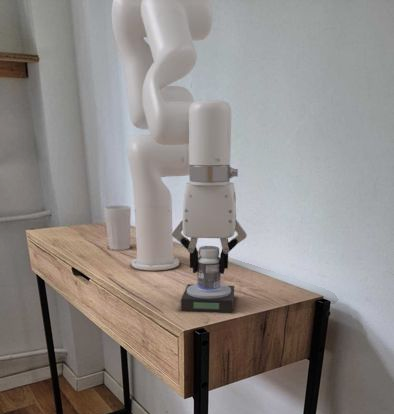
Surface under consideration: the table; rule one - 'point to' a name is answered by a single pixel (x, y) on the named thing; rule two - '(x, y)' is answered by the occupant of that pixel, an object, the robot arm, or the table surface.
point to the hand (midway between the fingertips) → (208, 270)
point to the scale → (208, 299)
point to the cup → (118, 226)
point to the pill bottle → (208, 269)
